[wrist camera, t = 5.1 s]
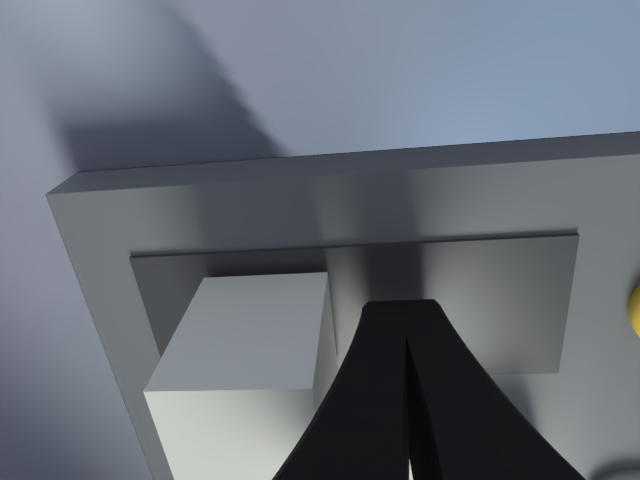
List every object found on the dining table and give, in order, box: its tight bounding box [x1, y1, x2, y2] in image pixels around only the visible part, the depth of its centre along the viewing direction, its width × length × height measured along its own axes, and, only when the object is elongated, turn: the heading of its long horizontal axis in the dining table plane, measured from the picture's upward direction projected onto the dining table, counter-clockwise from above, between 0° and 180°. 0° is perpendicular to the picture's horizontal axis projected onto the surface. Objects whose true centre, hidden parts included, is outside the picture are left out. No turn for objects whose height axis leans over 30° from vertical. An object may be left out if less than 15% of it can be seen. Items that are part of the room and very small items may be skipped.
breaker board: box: [45, 131, 640, 480], centre depth 12 cm, size 13×11×2 cm
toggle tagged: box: [143, 272, 338, 480], centre depth 9 cm, size 2×2×3 cm
